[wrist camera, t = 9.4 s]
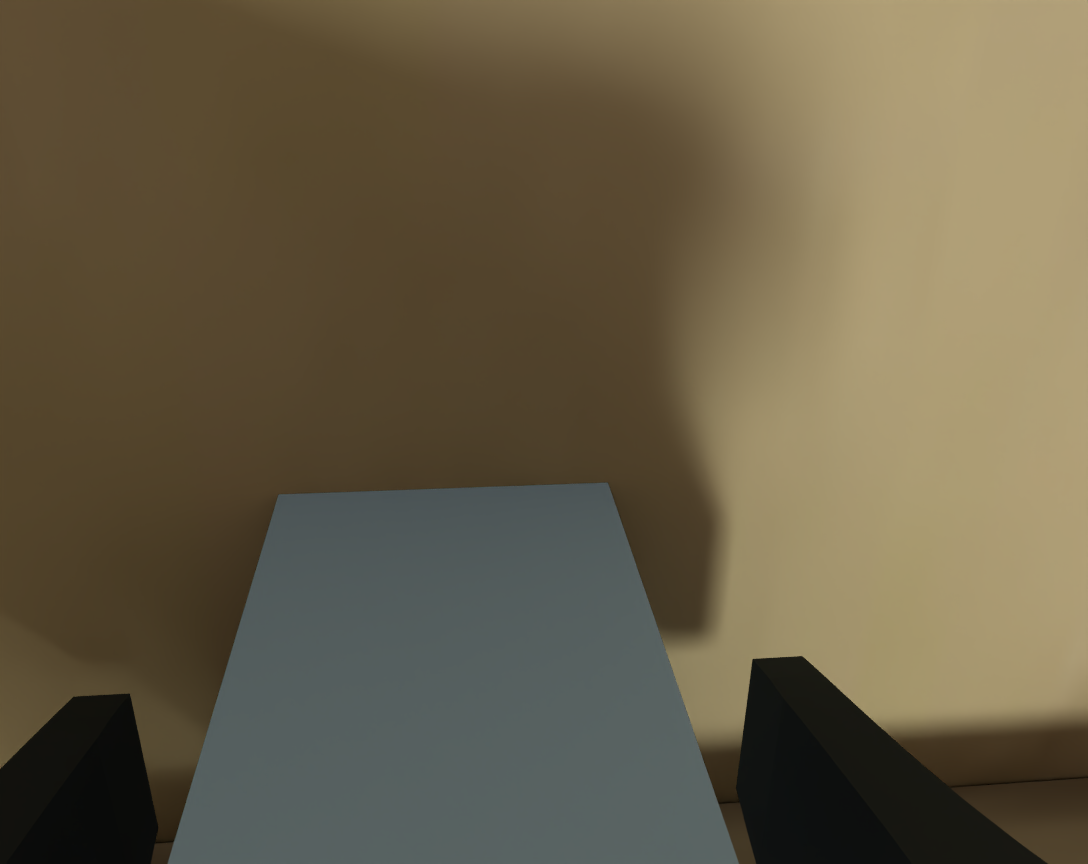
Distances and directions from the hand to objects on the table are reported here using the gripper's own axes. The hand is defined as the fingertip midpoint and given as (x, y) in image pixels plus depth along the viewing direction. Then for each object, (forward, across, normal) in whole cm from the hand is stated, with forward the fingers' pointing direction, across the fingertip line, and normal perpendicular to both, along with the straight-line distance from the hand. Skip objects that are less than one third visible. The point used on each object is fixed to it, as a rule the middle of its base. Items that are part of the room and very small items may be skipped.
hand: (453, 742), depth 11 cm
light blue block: (+2, 0, +2) cm, 2 cm away
